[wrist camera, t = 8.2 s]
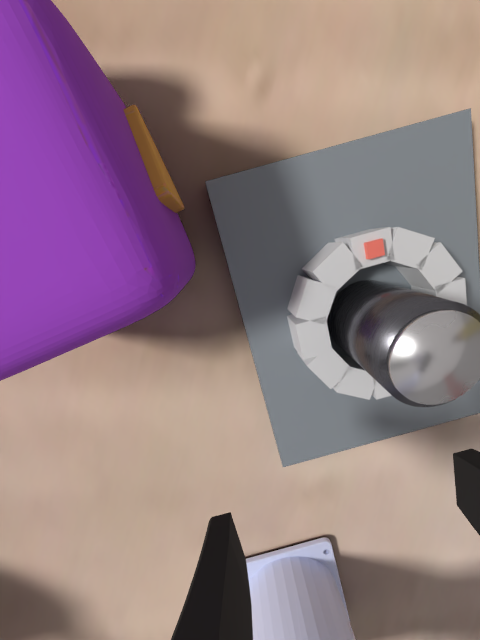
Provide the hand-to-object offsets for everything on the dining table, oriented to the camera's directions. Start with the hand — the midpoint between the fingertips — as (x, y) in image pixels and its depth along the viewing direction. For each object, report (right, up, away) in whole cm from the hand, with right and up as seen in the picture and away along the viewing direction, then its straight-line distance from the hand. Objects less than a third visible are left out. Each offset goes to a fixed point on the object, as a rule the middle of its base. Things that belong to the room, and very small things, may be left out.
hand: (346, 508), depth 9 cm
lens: (+4, +6, +8) cm, 11 cm away
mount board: (+4, +7, +9) cm, 12 cm away
